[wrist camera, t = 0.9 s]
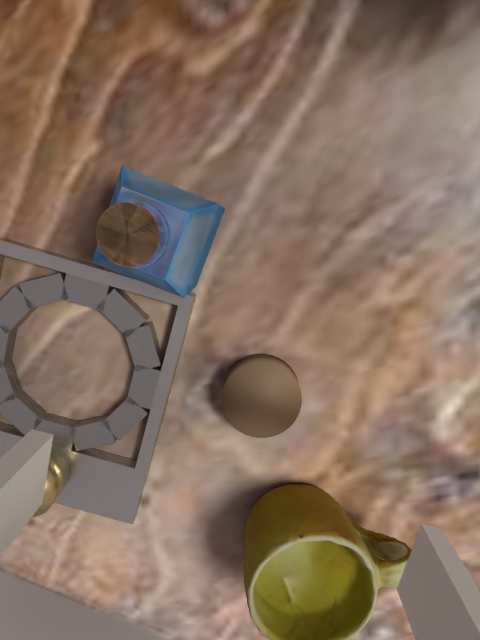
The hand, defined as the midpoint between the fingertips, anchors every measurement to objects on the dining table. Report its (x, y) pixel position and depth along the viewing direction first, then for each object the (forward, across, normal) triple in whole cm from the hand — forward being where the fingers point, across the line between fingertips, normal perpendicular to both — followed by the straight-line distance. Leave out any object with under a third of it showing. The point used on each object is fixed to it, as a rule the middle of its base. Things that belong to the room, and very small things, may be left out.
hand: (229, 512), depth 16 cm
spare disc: (+20, +2, -3) cm, 21 cm away
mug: (+20, +10, -13) cm, 26 cm away
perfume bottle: (+21, -8, +7) cm, 23 cm away
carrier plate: (+20, -13, -6) cm, 25 cm away
